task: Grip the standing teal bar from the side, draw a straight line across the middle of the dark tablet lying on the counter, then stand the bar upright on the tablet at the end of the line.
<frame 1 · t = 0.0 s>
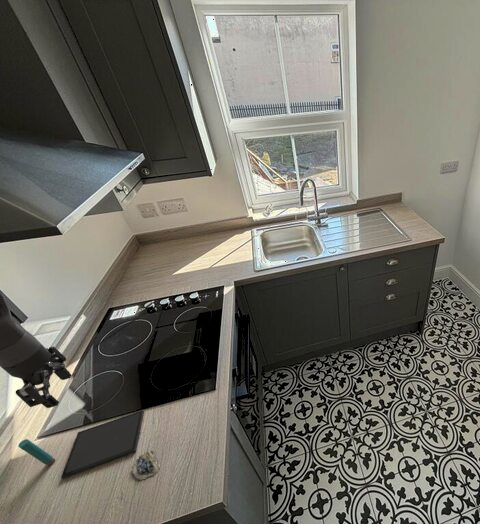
hand: (60, 391, 78), 23 cm above the countertop, tool pointing down, fingers open, 8 cm apart
teal bar: (51, 462, 85), on the countertop
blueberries: (148, 466, 83), on the countertop
tablet: (107, 442, 88), on the countertop
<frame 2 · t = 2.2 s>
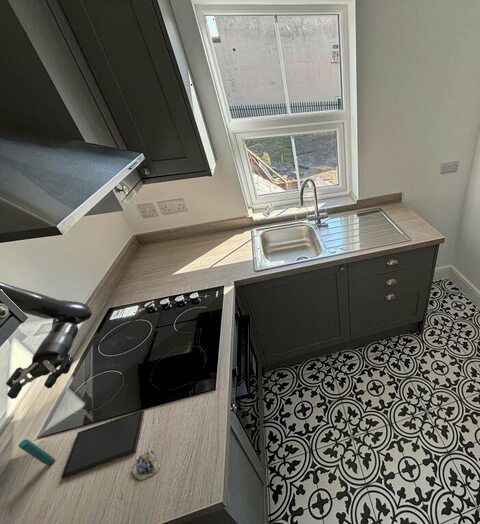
hand: (29, 391, 84), 18 cm above the countertop, tool horizontal, fingers open, 8 cm apart
nothing on the countertop moved.
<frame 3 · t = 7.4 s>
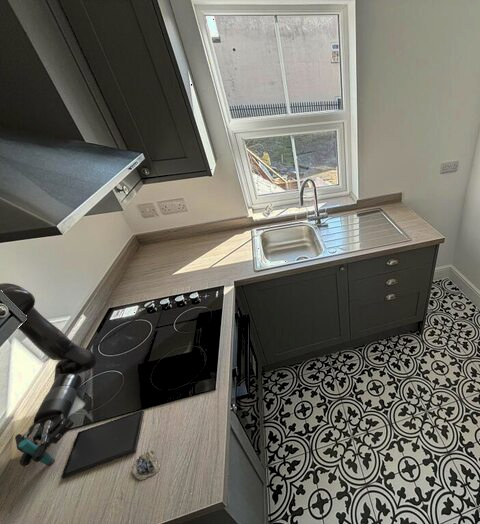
hand: (30, 462, 78), 7 cm above the countertop, tool horizontal, fingers closed on teal bar, 2 cm apart
teal bar: (51, 462, 85), on the countertop, touching gripper
everything else where it was.
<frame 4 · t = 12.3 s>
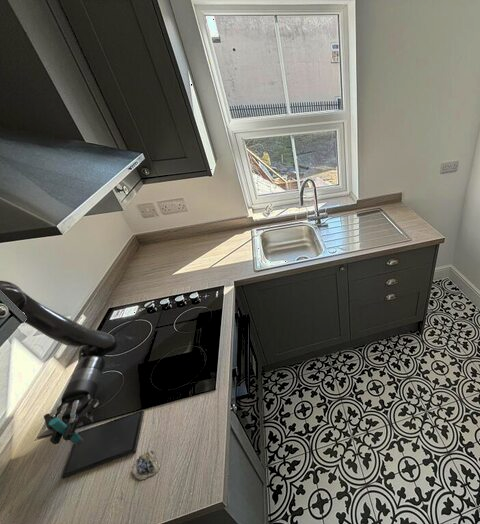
hand: (60, 440, 78), 11 cm above the countertop, tool horizontal, fingers closed on teal bar
teal bar: (79, 442, 85), point 4 cm above the countertop, touching gripper
everything else where it was.
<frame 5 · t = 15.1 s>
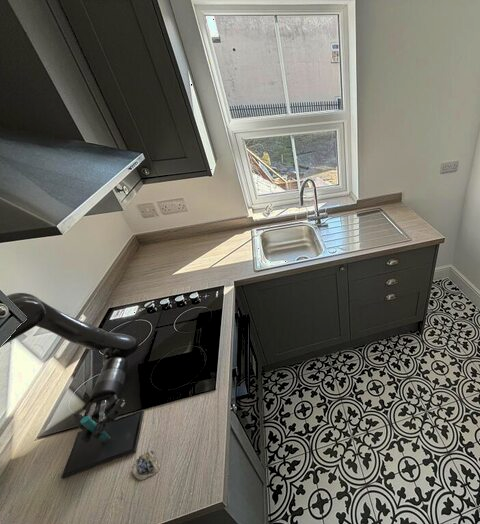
hand: (91, 438, 82), 8 cm above the countertop, tool horizontal, fingers closed on teal bar, 2 cm apart
teal bar: (107, 439, 88), point 1 cm above the countertop, touching gripper
everything else where it was.
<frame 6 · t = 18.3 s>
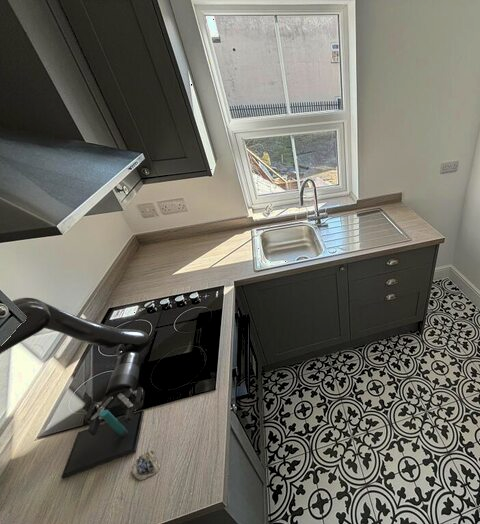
hand: (110, 427, 84), 8 cm above the countertop, tool horizontal, fingers open, 8 cm apart
teal bar: (124, 433, 89), point 1 cm above the countertop, touching tablet
everything else where it was.
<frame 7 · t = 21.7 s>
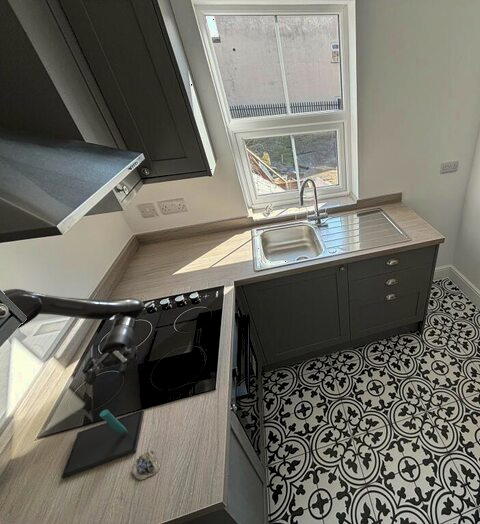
hand: (105, 378, 90), 14 cm above the countertop, tool horizontal, fingers open, 8 cm apart
nothing on the countertop moved.
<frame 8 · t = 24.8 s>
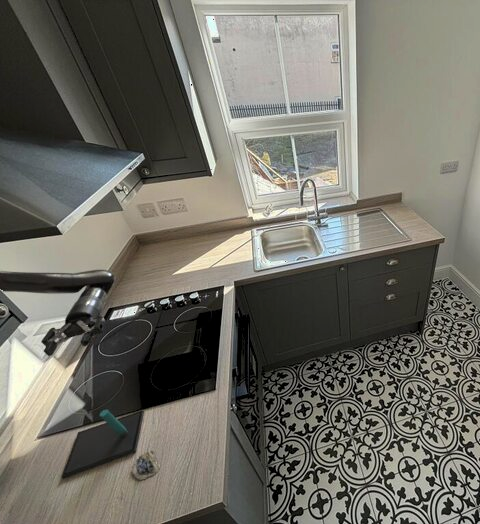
hand: (66, 349, 83), 28 cm above the countertop, tool horizontal, fingers open, 8 cm apart
nothing on the countertop moved.
at the end: teal bar touching tablet; teal bar tilted 0°; the gripper is holding nothing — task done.
